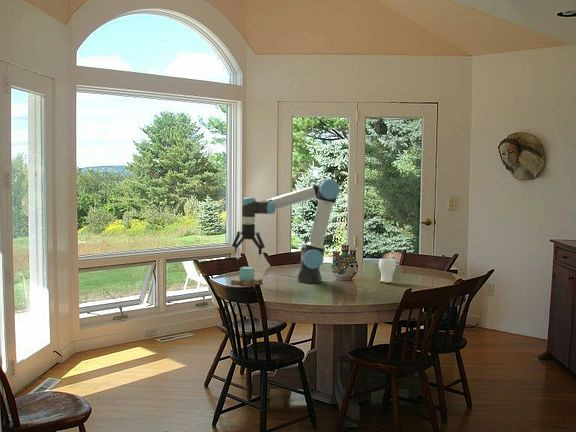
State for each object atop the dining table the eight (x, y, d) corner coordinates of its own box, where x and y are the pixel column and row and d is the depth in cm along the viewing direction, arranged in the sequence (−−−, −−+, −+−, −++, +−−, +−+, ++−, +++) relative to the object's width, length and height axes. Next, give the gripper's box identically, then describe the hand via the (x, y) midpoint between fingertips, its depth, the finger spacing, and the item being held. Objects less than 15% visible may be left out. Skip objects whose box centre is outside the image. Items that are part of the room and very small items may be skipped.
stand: (262, 283, 376) (262, 270, 375) (252, 286, 362) (253, 273, 362) (241, 280, 380) (241, 268, 380) (231, 284, 367) (231, 271, 367)
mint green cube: (253, 279, 373) (254, 267, 373) (249, 280, 367) (249, 269, 367) (243, 278, 376) (244, 266, 375) (239, 279, 369) (239, 268, 369)
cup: (396, 282, 394) (398, 259, 393) (392, 285, 384) (393, 260, 383) (380, 281, 398) (381, 257, 398) (375, 283, 389) (376, 259, 388)
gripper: (270, 224, 368) (269, 259, 370) (232, 222, 377) (231, 257, 378) (265, 225, 361) (265, 261, 363) (226, 223, 370) (226, 258, 371)
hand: (248, 259), depth 371 cm, fingers open, 13 cm apart
